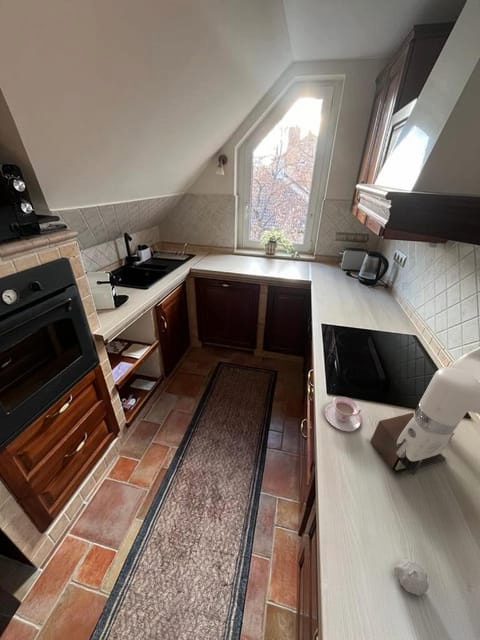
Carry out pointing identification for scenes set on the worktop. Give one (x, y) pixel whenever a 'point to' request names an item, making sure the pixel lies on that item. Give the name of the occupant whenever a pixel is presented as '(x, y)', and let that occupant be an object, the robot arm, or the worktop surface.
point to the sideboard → (388, 438)
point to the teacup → (343, 414)
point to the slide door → (401, 466)
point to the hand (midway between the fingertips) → (406, 464)
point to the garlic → (411, 576)
